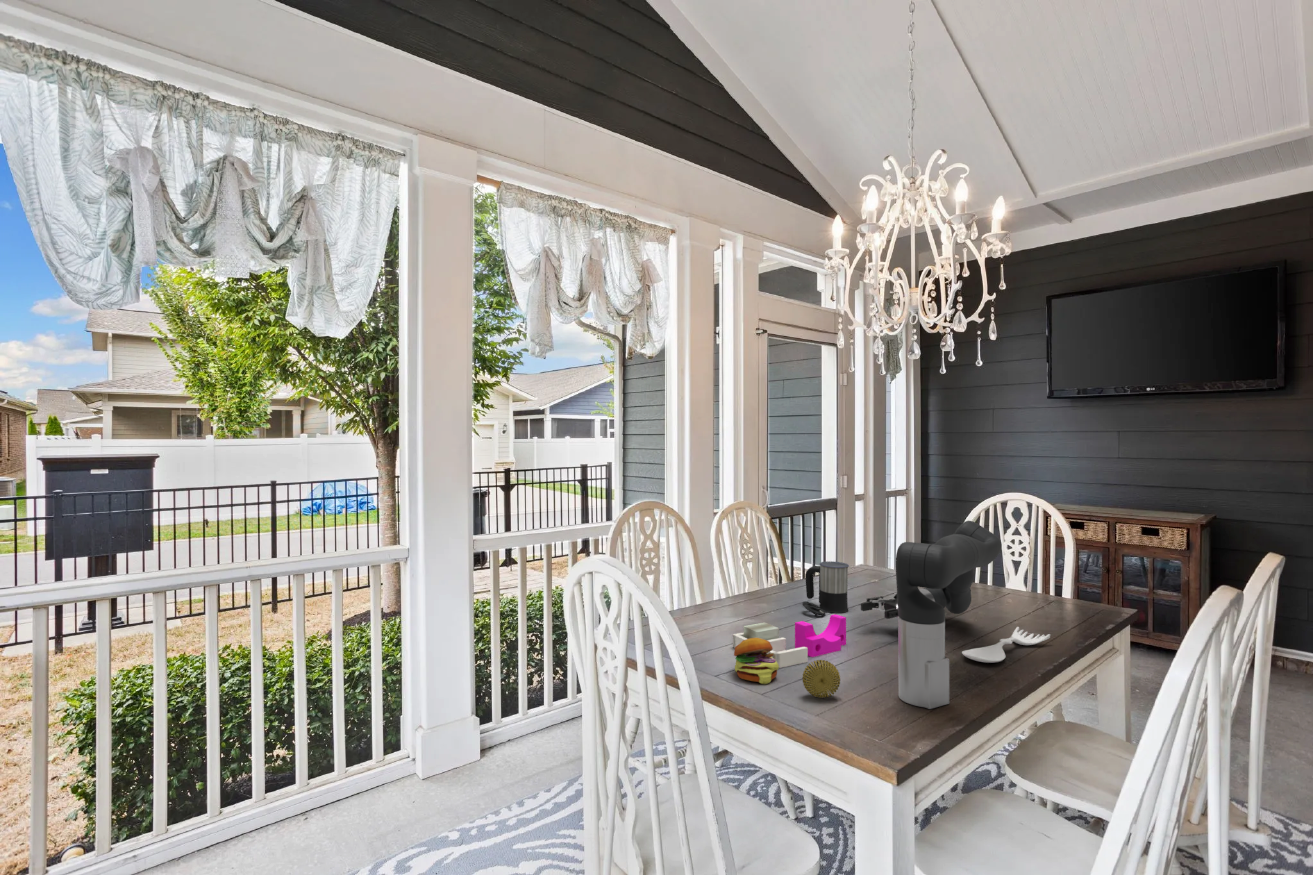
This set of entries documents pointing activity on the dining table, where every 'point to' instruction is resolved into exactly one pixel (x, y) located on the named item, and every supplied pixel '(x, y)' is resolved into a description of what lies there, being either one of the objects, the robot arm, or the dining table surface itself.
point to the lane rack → (780, 651)
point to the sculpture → (821, 678)
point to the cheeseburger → (755, 661)
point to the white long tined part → (996, 651)
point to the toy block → (821, 636)
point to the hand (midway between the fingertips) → (873, 610)
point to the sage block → (761, 631)
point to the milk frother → (828, 588)
